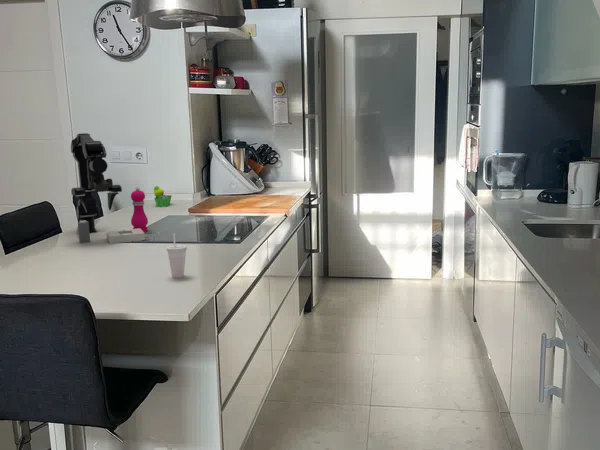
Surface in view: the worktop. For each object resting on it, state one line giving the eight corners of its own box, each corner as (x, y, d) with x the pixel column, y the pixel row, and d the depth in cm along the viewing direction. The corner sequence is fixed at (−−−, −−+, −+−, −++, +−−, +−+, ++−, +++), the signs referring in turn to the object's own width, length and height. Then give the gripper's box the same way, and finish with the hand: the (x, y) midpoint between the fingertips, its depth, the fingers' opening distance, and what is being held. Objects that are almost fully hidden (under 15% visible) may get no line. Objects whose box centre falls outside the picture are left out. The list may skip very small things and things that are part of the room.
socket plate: (106, 238, 253) (106, 230, 252) (140, 235, 258) (140, 228, 257) (109, 243, 242) (109, 236, 241) (144, 240, 247) (144, 233, 247)
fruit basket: (168, 207, 334) (166, 187, 332) (152, 207, 334) (150, 187, 332) (172, 204, 345) (171, 184, 343) (157, 204, 345) (156, 184, 343)
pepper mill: (144, 233, 261) (141, 188, 258) (128, 233, 263) (125, 187, 259) (151, 230, 268) (148, 185, 265) (136, 229, 270) (133, 185, 266)
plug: (79, 241, 248) (77, 220, 246) (89, 240, 249) (87, 219, 247) (79, 243, 244) (78, 222, 242) (90, 242, 245) (88, 221, 244)
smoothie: (169, 273, 195) (166, 231, 193) (189, 273, 196) (187, 231, 193) (166, 279, 189) (164, 235, 186) (187, 278, 189) (185, 235, 187)
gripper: (77, 174, 229) (80, 214, 231) (124, 171, 240) (128, 210, 242) (69, 174, 238) (72, 212, 240) (115, 171, 249) (118, 208, 251)
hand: (98, 211), depth 243 cm, fingers open, 9 cm apart
